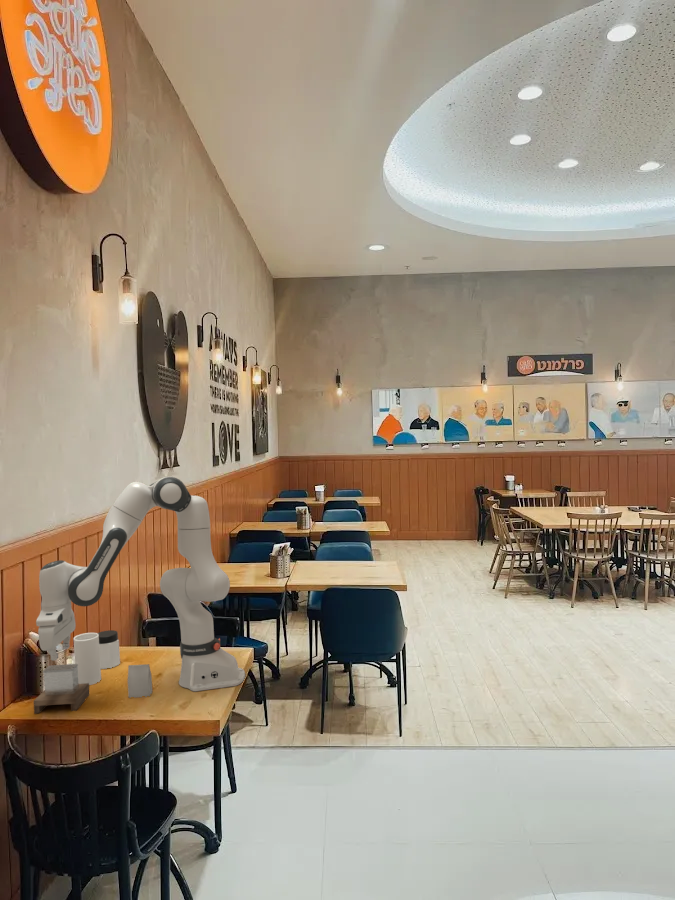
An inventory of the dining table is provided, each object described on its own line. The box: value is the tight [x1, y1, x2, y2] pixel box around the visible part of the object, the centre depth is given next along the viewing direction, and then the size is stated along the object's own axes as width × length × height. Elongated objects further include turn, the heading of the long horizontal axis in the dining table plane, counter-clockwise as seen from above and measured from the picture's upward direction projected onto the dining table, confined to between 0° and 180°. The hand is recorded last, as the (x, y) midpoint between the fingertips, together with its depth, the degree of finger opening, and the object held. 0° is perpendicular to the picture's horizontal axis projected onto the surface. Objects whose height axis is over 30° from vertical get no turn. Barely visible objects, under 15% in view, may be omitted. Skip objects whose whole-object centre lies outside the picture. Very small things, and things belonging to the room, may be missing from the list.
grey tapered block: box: [127, 664, 153, 699], centre depth 211 cm, size 4×7×10 cm, turn 91°
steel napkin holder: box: [42, 663, 79, 696], centre depth 207 cm, size 9×5×8 cm, turn 92°
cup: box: [73, 632, 102, 686], centre depth 225 cm, size 8×8×16 cm
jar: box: [97, 629, 121, 670], centre depth 241 cm, size 9×8×12 cm
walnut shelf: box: [33, 683, 91, 714], centre depth 207 cm, size 13×12×4 cm
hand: (60, 654), depth 207 cm, fingers open, 8 cm apart
